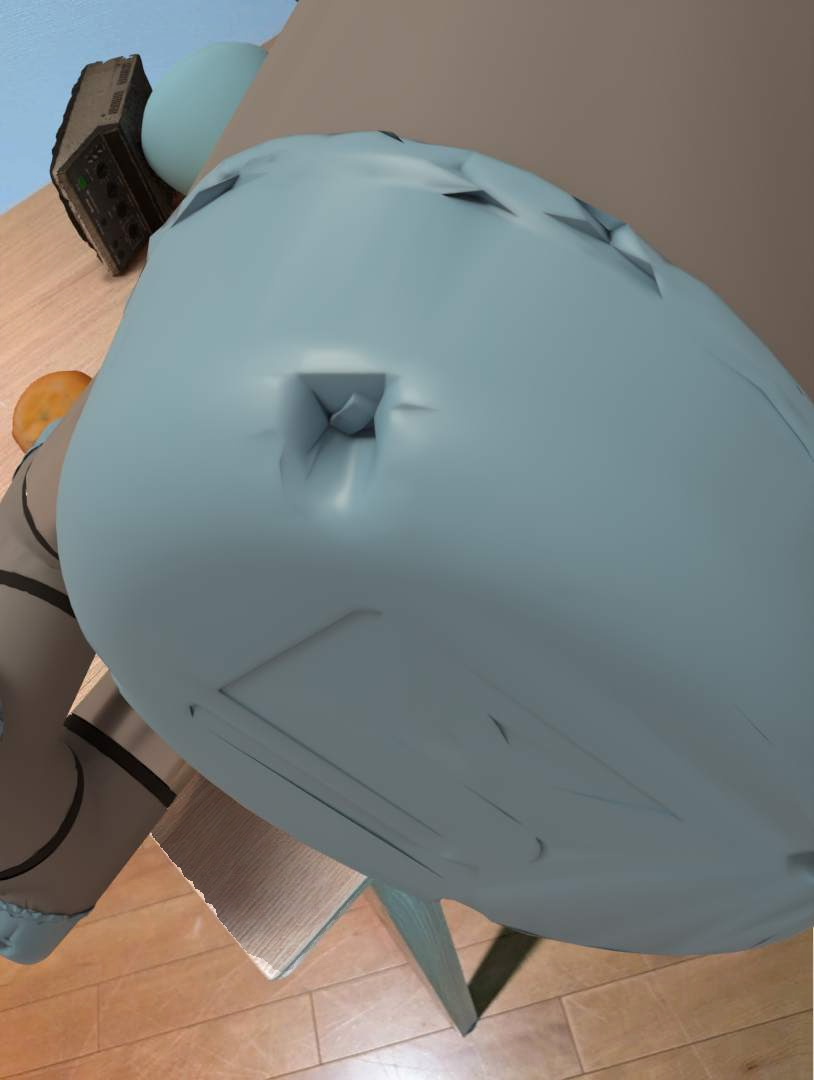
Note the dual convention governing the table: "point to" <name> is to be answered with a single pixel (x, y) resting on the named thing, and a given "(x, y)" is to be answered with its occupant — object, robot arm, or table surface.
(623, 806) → the robot arm
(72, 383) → the fruit
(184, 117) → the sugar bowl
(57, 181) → the electronic device
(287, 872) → the table surface
